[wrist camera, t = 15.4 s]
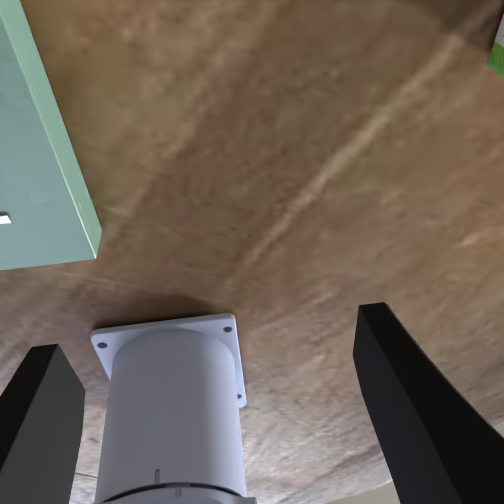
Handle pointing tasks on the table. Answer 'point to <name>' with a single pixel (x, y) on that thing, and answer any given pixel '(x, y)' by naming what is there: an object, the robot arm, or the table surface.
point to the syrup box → (498, 52)
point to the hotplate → (37, 161)
